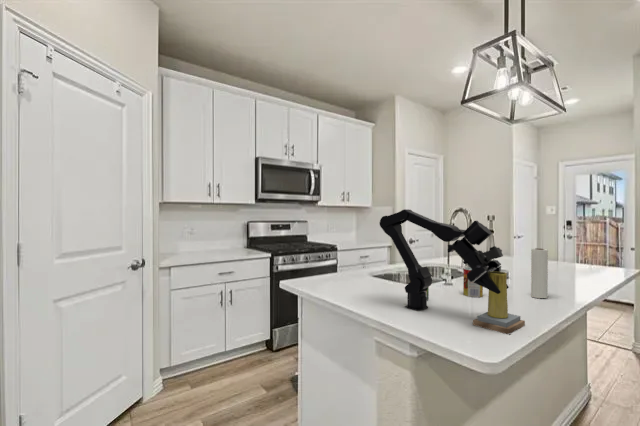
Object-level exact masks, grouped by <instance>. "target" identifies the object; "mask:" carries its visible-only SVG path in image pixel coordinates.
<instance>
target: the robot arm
mask: <svg viewBox="0 0 640 426" xmlns="http://www.w3.org/2000/svg"><path fill="white" fill-rule="evenodd" d="M406 222H409V223H412V224H414V225H416V226H417V227H421V228H423V229H425V230H428V231H429V232H431V233H432V234H434V236H436V237H437V238H438V239H440V240H441V241H442V242H446V243H448V242H453V243H452V244H448V245H447V253H452V252H455V253H456V254H457V256H459V257H460V258H461V259H462V260H463V261H462V263H463V264H464V265H467V266H468V267H470V268H471V269H472V270H471V271H470V272H468V273H467V278H468V280H469V281H470V282H473V281H474V280H475V279H476V281H474V282H473V283H476V284H478V285H480V286H482V287H483V288H485V289H486V290H488V291H489V290H491V291H493V292H495V293H497V294H499V293H501V291H500V290H499V288H498V287H497V286H496V284H495V283H494V281H493V280H492V279H491V277H490V271H497V272H502V271H501V270H502V263H501V262H500V261H499V260H497V259H499V258H502V257H504V254H503V253H502V252H503V250H502V249H501V248H500V247H497V246H496V245H494V246H492V247H491V246H490V247H489V250H487V251H484V252H483V251H482V250H478V249H476V248H475V245H476V246H480V245H481V244H482V243H483V242H485V241H486V240H487V239H488V238H489V237H490V236H491V235H492V231H491V230H490V229H489V227H488V226H485V225H484V224H483V223H481V222H479V221H478V220H473V222H472V223H471V224H470V225H469V226H468V227H467V228H466V229H460V228H459V227H458V226H457V225H453V224H450V223H444V222H438V221H436V220H434V219H432V218H429V217H427V216H425V215H421V214H419V213H417V212H415V211H413V210H411V209H406V208H405V209H402V210H400V211H398V212H396V213H392V214H390V215H384V216H381V218H380V220H379V227H380V228H381V229H382V231H383V232H384V233H385V234H386V235H387V236H388V237H390V239H391V240H392V242H393V244H394V245H395V246H394V247H396V249H397V251H398V253H399V255H400V257H401V259H402V261H403V262H404V264H405V266H406V269H407V272H408V276H407V277H408V279H409V283H407V284H406V285H405V286H404V291H405V293H407V304H406V305H404V307H405V308H408V309H410V310H411V309H412V310H415V311H422V310H423V311H424V310H425V309H428V308H429V306H428V305H427V302H428V301H427V297H426V292H424V291H427V289H428V287H430V286H431V285H432V283H433V278H432V276H433V275H432V273H430V271H429V269H428V268H429V267H427V266H422V265H420V263H419V261H418V259H417V258H416V256H415V254H414V252H413V251H412V248H411V247H410V245H409V244H408V241H407V239H406V238H405V236H404V234H403V230H402V227H403V226H402V225H403V224H404V223H406ZM459 238H461V239H459ZM508 289H509V285H508V284H507V290H508Z"/></svg>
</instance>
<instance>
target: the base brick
mask: <svg viewBox="0 0 640 426" xmlns="http://www.w3.org/2000/svg"><path fill="white" fill-rule="evenodd" d="M525 325H526V321H525V320H524V319H523V320H522V319H520V321H519V322H517V323H515V324H513V325H511V326H509V327H507V328H505V327H501V326H497V325H493V324H489V323H486V322H482V321H478V320H477V318H475V319H472V326H476V327H481V328H484V329H487V330H491V331H496V332H498V333H502V334H506V335H509V334H511V333H513V332H515V331H517V330H519V329H521V328H522V327H525Z"/></svg>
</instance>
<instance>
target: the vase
mask: <svg viewBox="0 0 640 426" xmlns="http://www.w3.org/2000/svg"><path fill="white" fill-rule="evenodd" d="M507 275H508V274H507V272H504V271H501V272H497V271H490V277H491V279H492V280H493V281H494V283H495V284H496V286H497V287H498V288H499V290H500V291H501V293H499V294H497V293H495V292H493V291H491V290H489V289H488V303H487V312H488V313H487V315H488V316H490V317H494V318H502V319H503V318H508V310H509V309H508V307H509V305H508V289H507V285H508V284H507Z"/></svg>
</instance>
